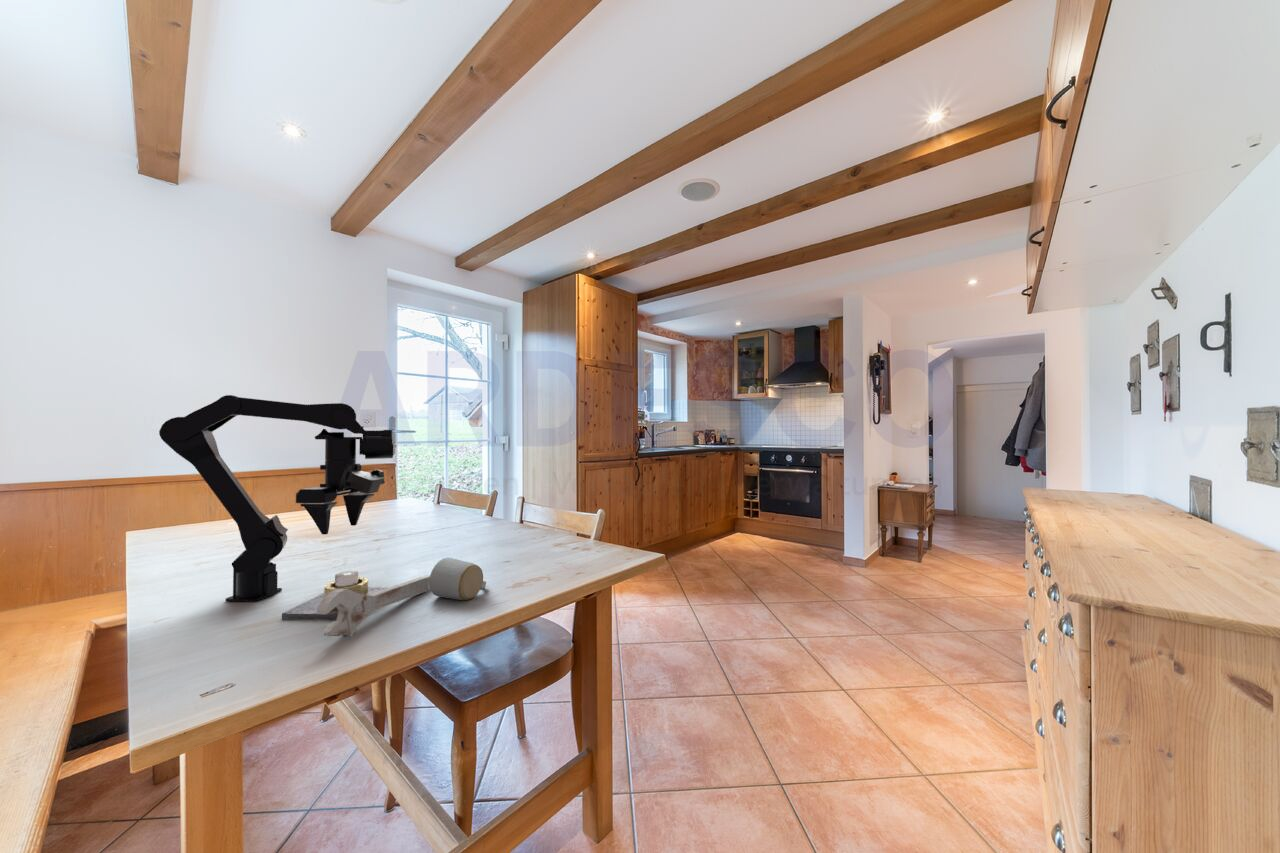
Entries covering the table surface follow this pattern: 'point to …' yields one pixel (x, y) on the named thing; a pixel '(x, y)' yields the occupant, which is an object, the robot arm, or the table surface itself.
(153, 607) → the table surface
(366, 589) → the ring
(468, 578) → the ceramic mug
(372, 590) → the piston stand
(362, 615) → the wrench
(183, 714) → the table surface
